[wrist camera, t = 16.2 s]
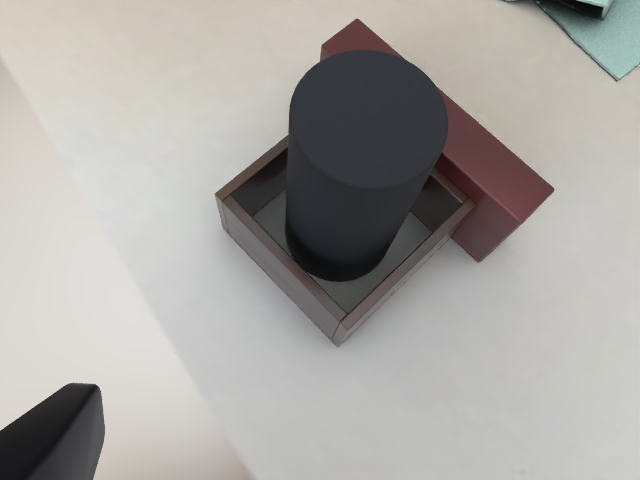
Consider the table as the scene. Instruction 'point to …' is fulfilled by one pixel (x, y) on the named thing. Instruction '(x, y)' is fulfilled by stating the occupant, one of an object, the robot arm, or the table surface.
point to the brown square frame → (430, 207)
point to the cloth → (601, 30)
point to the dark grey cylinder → (358, 158)
